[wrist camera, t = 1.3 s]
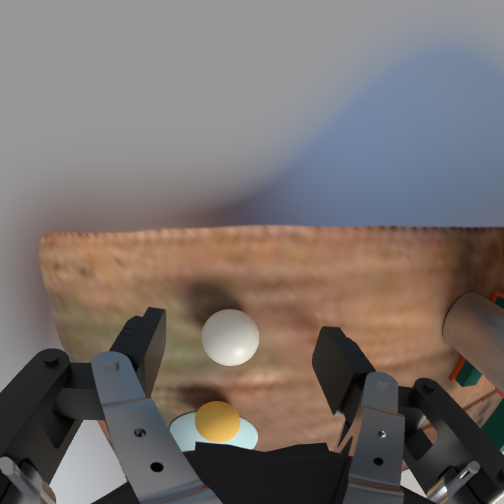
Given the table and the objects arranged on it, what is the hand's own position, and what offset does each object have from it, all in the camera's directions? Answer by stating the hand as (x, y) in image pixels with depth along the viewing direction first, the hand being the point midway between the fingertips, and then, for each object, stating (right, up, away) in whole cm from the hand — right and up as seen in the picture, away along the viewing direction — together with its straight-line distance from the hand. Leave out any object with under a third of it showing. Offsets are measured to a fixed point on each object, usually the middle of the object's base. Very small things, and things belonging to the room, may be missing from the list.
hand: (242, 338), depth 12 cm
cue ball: (-2, -5, +17) cm, 17 cm away
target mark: (-6, -25, +25) cm, 36 cm away
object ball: (-4, -19, +20) cm, 28 cm away
